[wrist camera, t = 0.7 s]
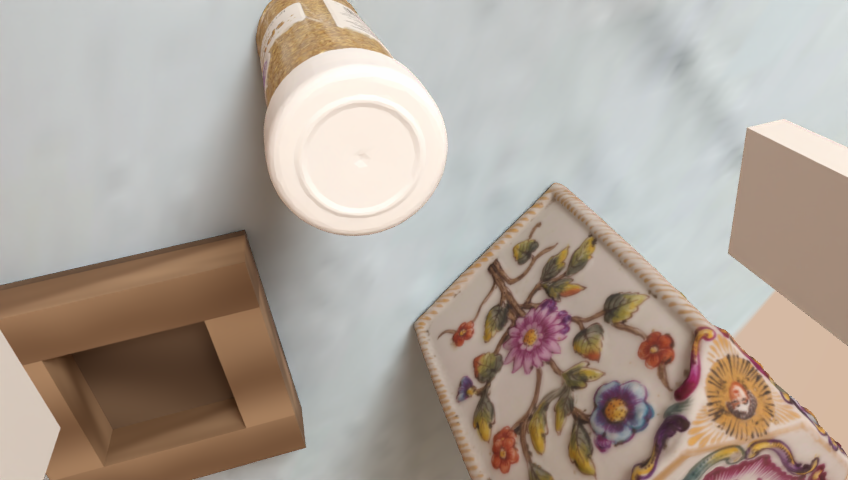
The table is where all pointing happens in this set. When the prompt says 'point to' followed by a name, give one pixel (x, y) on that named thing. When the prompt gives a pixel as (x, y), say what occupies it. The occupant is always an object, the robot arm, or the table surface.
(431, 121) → the sprinkles bottle
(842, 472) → the decorative jar
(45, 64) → the table surface
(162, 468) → the socket board
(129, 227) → the table surface
